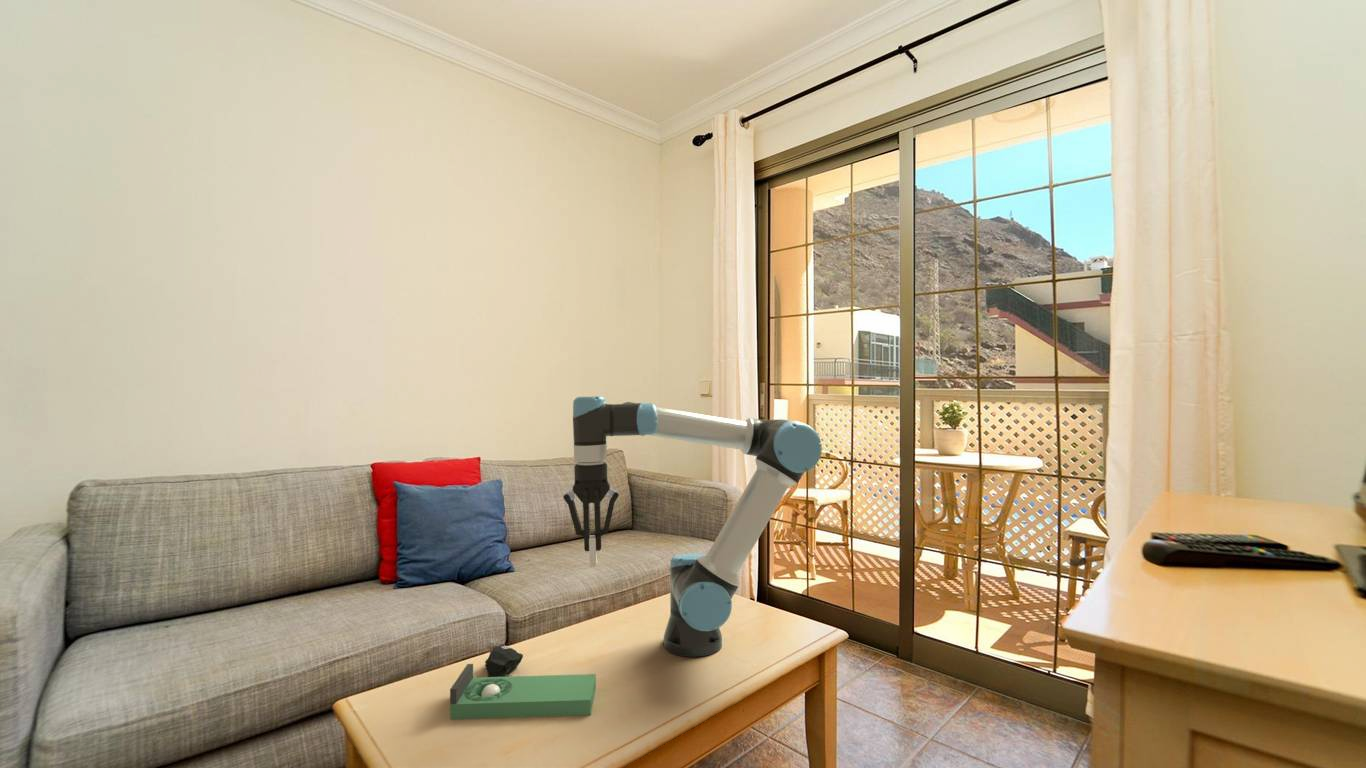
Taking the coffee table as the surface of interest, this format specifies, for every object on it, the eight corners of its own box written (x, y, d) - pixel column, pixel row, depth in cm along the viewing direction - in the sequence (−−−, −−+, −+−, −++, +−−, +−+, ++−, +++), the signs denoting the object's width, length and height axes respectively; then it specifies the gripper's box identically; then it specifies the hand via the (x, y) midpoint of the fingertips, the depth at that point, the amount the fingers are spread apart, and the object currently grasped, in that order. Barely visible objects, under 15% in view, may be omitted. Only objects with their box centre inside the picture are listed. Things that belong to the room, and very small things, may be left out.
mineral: (469, 675, 136) (469, 650, 136) (500, 660, 144) (500, 636, 144) (498, 687, 130) (498, 661, 131) (529, 671, 138) (529, 646, 138)
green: (595, 687, 130) (595, 660, 130) (590, 714, 119) (590, 685, 119) (467, 691, 128) (467, 663, 129) (450, 719, 117) (450, 689, 118)
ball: (498, 679, 126) (480, 688, 125) (496, 681, 122) (477, 691, 121) (504, 697, 125) (486, 707, 124) (502, 701, 121) (483, 710, 120)
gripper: (619, 459, 140) (622, 558, 140) (564, 461, 139) (566, 561, 139) (618, 463, 133) (621, 568, 132) (560, 465, 132) (562, 571, 131)
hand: (593, 564), depth 135 cm, fingers closed
